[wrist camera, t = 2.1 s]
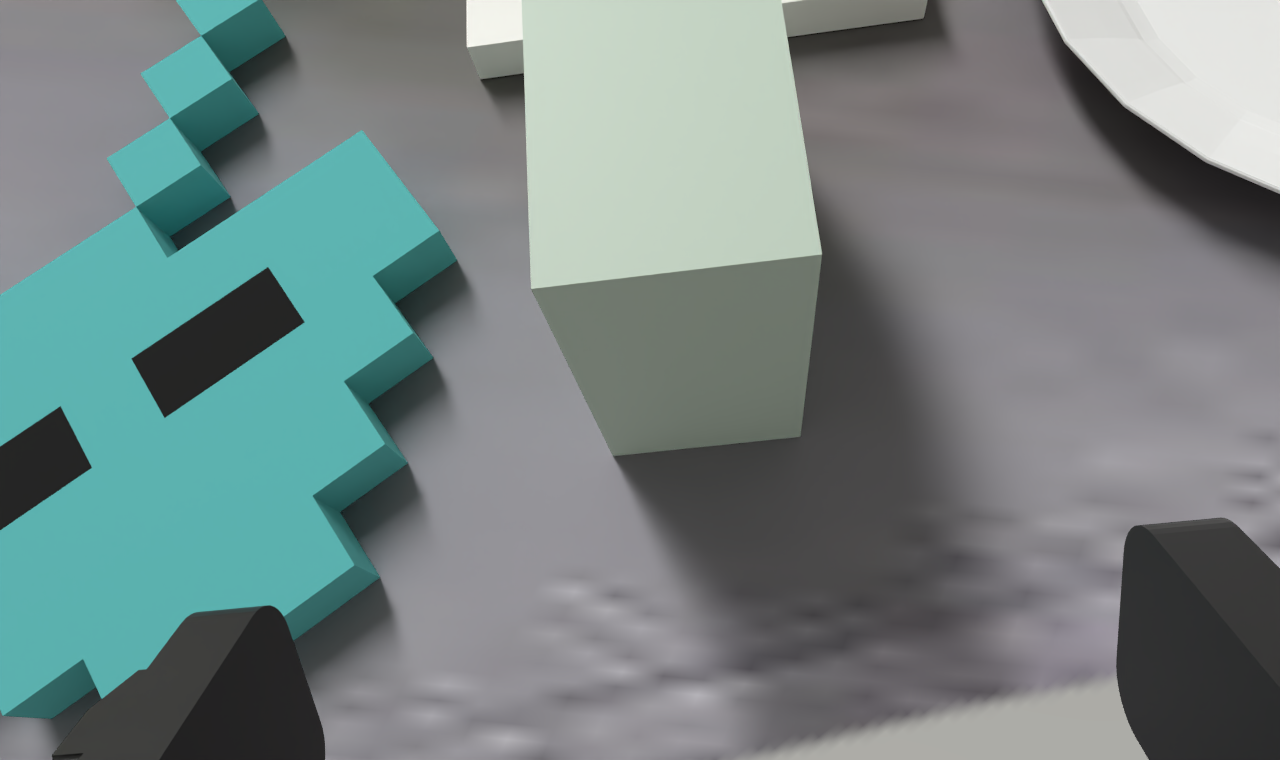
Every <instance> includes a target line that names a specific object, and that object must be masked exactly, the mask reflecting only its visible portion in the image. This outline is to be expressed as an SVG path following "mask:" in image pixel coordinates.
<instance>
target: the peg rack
mask: <svg viewBox="0 0 1280 760" xmlns="http://www.w3.org/2000/svg"><path fill="white" fill-rule="evenodd" d="M927 1H928V0H781V2H782V8H783V14H784V20H785V27H786V33H787V37H792V36H799V35H807V34H814V33H821V32H828V31H836V30H843V29H850V28H858V27H865V26H872V25H879V24H887V23H894V22H901V21H909V20H916V19H923V18H924V15H925V10H926V5H927ZM467 49H468V51H469V54H470V56H471V59H472V61H473V63H474V66H475V68H476V71H477V73H478V76H479V78H480V79H486V78H493V77H501V76H508V75H515V74H522V73H524V57H523V26H522V0H467Z"/></svg>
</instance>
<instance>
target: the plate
mask: <svg viewBox="0 0 1280 760" xmlns="http://www.w3.org/2000/svg"><path fill="white" fill-rule="evenodd" d="M1042 2H1043V4H1044V6H1045V8H1046V9H1047V11H1048V13H1049V15H1050V17H1051V19H1052V21H1053V22H1054V24H1055V26H1056V28H1057V30H1058V32H1059V34H1060V35H1061V37H1062V39H1063V41H1064V43H1065V44H1066V45H1067V46H1068V47H1069V48H1070V49H1071V51H1072V52H1073V53H1074V54H1075V55H1076V56H1077V57H1078V58H1079V59H1080V60H1081V61H1082V62H1083V63H1084V65H1085V66H1086V67H1087V68H1088V69H1089V70H1090V71H1091V72H1092V73H1093V74H1094V75H1095V76H1096V77H1097V79H1098V80H1099V81H1100V82H1101V83H1102V84H1103V85H1104V86H1105V87H1106V88H1107V89H1108V90H1109V91H1110V93H1111V94H1112V95H1113V96H1114V97H1115V98H1116V99H1117V100H1118V101H1119V102H1120V103H1121V104H1122V105H1123V107H1125V108H1126V109H1128V110H1129V111H1131V112H1132V113H1133V114H1135V115H1136V116H1138V117H1139V118H1141V119H1142V120H1144V121H1145V122H1147V123H1148V124H1150V125H1151V126H1153V127H1154V128H1156V129H1157V130H1159V131H1160V132H1161V133H1163V134H1164V135H1166V136H1167V137H1169V138H1170V139H1172V140H1173V141H1175V142H1176V143H1178V144H1179V145H1181V146H1182V147H1184V148H1185V149H1187V150H1188V151H1189V152H1191V153H1192V154H1194V155H1195V156H1197V157H1198V158H1200V159H1201V160H1203V161H1204V162H1206V163H1208V164H1210V165H1213V166H1215V167H1217V168H1220V169H1222V170H1225V171H1227V172H1229V173H1232V174H1234V175H1236V176H1239V177H1241V178H1243V179H1246V180H1248V181H1250V182H1253V183H1255V184H1257V185H1260V186H1262V187H1264V188H1267V189H1269V190H1271V191H1274V192H1276V193H1278V194H1280V0H1042Z"/></svg>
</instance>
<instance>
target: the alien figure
mask: <svg viewBox="0 0 1280 760" xmlns="http://www.w3.org/2000/svg"><path fill="white" fill-rule="evenodd" d="M176 1H177V2H178V4H179V5H180V7H181V8H182V9H183V11H184V12H185V14H186V15H187V16H188V18H189V19H190V21H191V22H192V23H193V25H194V26H195V28H196V29H197V30H198V32H199V33H200V35H201V36H200V37H198V38H197V39H195V40H193V41H192V42H190V43H189V44H187V45H185V46H184V47H182V48H181V49H179V50H178V51H176V52H174V53H173V54H171V55H170V56H168V57H166V58H165V59H163V60H162V61H160V62H158V63H157V64H155V65H154V66H152V67H150V68H149V69H147V70H146V71H144V72H142V73H141V75H142V77H143V78H144V80H145V81H146V83H147V84H148V86H149V87H150V89H151V90H152V92H153V93H154V95H155V96H156V98H157V99H158V101H159V102H160V104H161V105H162V107H163V108H164V110H165V111H166V113H167V115H168V116H169V119H168V120H166V121H165V122H163V123H161V124H160V125H158V126H157V127H155V128H154V129H152V130H150V131H149V132H147V133H146V134H144V135H143V136H141V137H139V138H138V139H136V140H135V141H133V142H132V143H130V144H128V145H127V146H125V147H124V148H122V149H121V150H119V151H117V152H116V153H114V154H113V155H111V156H110V157H108V158H107V160H108V161H109V163H110V165H111V166H112V168H113V170H114V171H115V173H116V175H117V176H118V178H119V179H120V181H121V183H122V184H123V186H124V188H125V189H126V191H127V193H128V194H129V196H130V197H131V199H132V201H133V202H134V204H135V206H136V207H135V208H134V209H132V210H131V211H129V212H127V213H126V214H124V215H123V216H121V217H120V218H118V219H117V220H115V221H114V222H112V223H110V224H109V225H107V226H106V227H104V228H103V229H101V230H100V231H98V232H97V233H95V234H93V235H92V236H90V237H89V238H87V239H86V240H84V241H83V242H81V243H80V244H78V245H76V246H75V247H73V248H72V249H70V250H69V251H67V252H66V253H64V254H63V255H61V256H59V257H58V258H56V259H55V260H53V261H52V262H50V263H49V264H47V265H46V266H44V267H42V268H41V269H39V270H38V271H36V272H35V273H33V274H32V275H30V276H29V277H27V278H25V279H24V280H22V281H21V282H19V283H18V284H16V285H15V286H13V287H12V288H10V289H8V290H7V291H5V292H4V293H2V294H1V295H0V710H1V713H2V715H3V716H13V717H30V718H48V719H52V718H54V717H55V716H56V715H58V714H59V713H61V712H62V711H63V710H65V709H66V708H68V707H69V706H70V705H72V704H73V703H75V702H76V701H77V700H79V699H80V698H82V697H83V696H84V695H86V694H87V693H89V692H90V691H91V690H93V689H94V688H95V687H96V688H97V690H98V692H99V694H100V696H101V699H102V698H104V697H105V696H106V695H108V694H109V693H110V692H111V691H113V690H114V689H115V688H116V687H118V686H119V685H120V684H121V683H123V682H124V681H125V680H127V679H128V678H129V677H130V676H132V675H133V674H134V673H135V672H137V671H138V670H143V669H147V668H148V667H149V665H150V664H151V663H152V661H153V660H154V659H155V657H156V656H157V655H158V653H159V652H160V651H161V649H162V648H163V647H164V645H165V644H166V643H167V641H168V640H169V639H170V637H171V636H172V635H173V633H174V632H175V631H176V629H177V628H178V627H179V625H180V624H181V623H182V622H183V621H184V619H185V618H186V617H188V616H189V615H191V614H193V613H195V612H203V611H214V610H224V609H235V608H245V607H256V606H267V605H271V606H274V607H275V608H277V609H278V610H279V611H280V612H281V613H282V615H283V616H284V618H285V620H286V622H287V625H288V627H289V630H290V633H291V636H292V639H293V641H294V640H295V639H297V638H298V637H300V636H301V635H302V634H304V633H305V632H306V631H308V630H309V629H310V628H312V627H313V626H315V625H316V624H317V623H319V622H320V621H321V620H323V619H324V618H325V617H327V616H328V615H330V614H331V613H332V612H334V611H335V610H336V609H338V608H339V607H341V606H342V605H343V604H345V603H346V602H347V601H349V600H350V599H351V598H353V597H354V596H356V595H357V594H358V593H360V592H361V591H362V590H364V589H365V588H366V587H368V586H369V585H371V584H372V583H373V582H375V581H376V580H377V579H379V578H380V576H379V575H378V573H377V571H376V570H375V568H374V566H373V565H372V563H371V562H370V560H369V558H368V557H367V555H366V554H365V552H364V550H363V549H362V547H361V545H360V544H359V542H358V541H357V539H356V537H355V536H354V534H353V532H352V531H351V529H350V528H349V526H348V524H347V523H346V521H345V520H344V518H343V516H342V515H341V513H340V512H341V511H342V510H343V509H345V508H346V507H348V506H349V505H350V504H352V503H353V502H355V501H356V500H357V499H359V498H360V497H361V496H363V495H364V494H366V493H367V492H368V491H370V490H371V489H373V488H374V487H375V486H377V485H378V484H380V483H381V482H382V481H384V480H385V479H387V478H388V477H389V476H391V475H392V474H394V473H395V472H396V471H398V470H399V469H400V468H402V467H403V466H405V465H406V464H407V463H408V462H407V461H406V459H405V458H404V456H403V455H402V453H401V452H400V450H399V449H398V447H397V446H396V444H395V443H394V441H393V440H392V438H391V437H390V435H389V434H388V432H387V431H386V429H385V428H384V426H383V425H382V423H381V422H380V420H379V419H378V417H377V416H376V414H375V413H374V411H373V410H372V408H371V407H370V405H369V403H370V402H371V401H373V400H374V399H376V398H377V397H379V396H380V395H381V394H383V393H384V392H386V391H387V390H389V389H390V388H391V387H393V386H394V385H396V384H397V383H398V382H400V381H401V380H403V379H404V378H406V377H407V376H408V375H410V374H411V373H413V372H414V371H416V370H417V369H418V368H420V367H421V366H423V365H424V364H425V363H427V362H428V361H430V360H431V359H433V356H432V355H431V354H430V352H429V351H428V349H427V348H426V347H425V345H424V344H423V342H422V341H421V340H420V338H419V337H418V335H417V334H416V333H415V331H414V330H413V328H412V327H411V326H410V324H409V323H408V321H407V320H406V319H405V317H404V316H403V314H402V313H401V312H400V310H399V309H398V307H397V306H396V305H395V303H396V302H398V301H399V300H401V299H402V298H404V297H405V296H406V295H408V294H409V293H411V292H412V291H414V290H415V289H417V288H418V287H419V286H421V285H422V284H424V283H425V282H427V281H428V280H430V279H431V278H432V277H434V276H435V275H437V274H438V273H440V272H441V271H443V270H444V269H446V268H447V267H448V266H450V265H451V264H453V263H454V262H456V261H457V259H456V258H455V256H454V254H453V253H452V251H451V249H450V248H449V246H448V244H447V243H446V241H445V240H444V238H443V236H442V235H441V233H440V231H439V230H438V229H437V227H436V226H435V225H434V223H433V222H432V221H431V219H430V218H429V217H428V215H427V214H426V213H425V212H424V210H423V209H422V208H421V206H420V205H419V204H418V202H417V201H416V200H415V199H414V197H413V196H412V195H411V193H410V192H409V191H408V189H407V188H406V187H405V186H404V184H403V183H402V182H401V180H400V179H399V178H398V176H397V175H396V174H395V173H394V171H393V170H392V169H391V167H390V166H389V165H388V163H387V162H386V161H385V159H384V158H383V157H382V156H381V154H380V153H379V152H378V150H377V149H376V148H375V146H374V145H373V144H372V143H371V141H370V140H369V139H368V137H367V136H366V135H365V133H364V132H363V131H362V130H361V131H360V132H358V133H357V134H355V135H354V136H352V137H351V138H349V139H348V140H346V141H344V142H343V143H341V144H340V145H338V146H337V147H335V148H334V149H332V150H331V151H329V152H328V153H326V154H325V155H323V156H322V157H320V158H319V159H317V160H316V161H314V162H313V163H311V164H310V165H308V166H307V167H305V168H303V169H302V170H300V171H299V172H297V173H296V174H294V175H293V176H291V177H290V178H288V179H287V180H285V181H284V182H282V183H281V184H279V185H278V186H276V187H275V188H273V189H272V190H270V191H269V192H267V193H265V194H264V195H262V196H261V197H259V198H258V199H256V200H255V201H253V202H252V203H250V204H249V205H247V206H246V207H244V208H243V209H241V210H240V211H238V212H237V213H235V214H234V215H232V216H231V217H229V218H228V219H226V220H224V221H223V222H221V223H220V224H218V225H217V226H215V227H214V228H212V229H211V230H209V231H208V232H206V233H205V234H203V235H202V236H200V237H199V238H197V239H196V240H194V241H193V242H191V243H190V244H188V245H186V246H185V247H183V248H182V249H180V250H179V251H178V249H177V247H176V246H175V244H174V243H173V241H172V239H171V238H170V236H172V235H173V234H175V233H176V232H178V231H179V230H181V229H182V228H184V227H185V226H187V225H189V224H190V223H192V222H193V221H195V220H196V219H198V218H199V217H201V216H202V215H204V214H205V213H207V212H208V211H210V210H211V209H213V208H214V207H216V206H217V205H219V204H221V203H222V202H224V201H225V200H227V199H228V198H230V197H231V196H230V195H229V193H228V192H227V190H226V189H225V187H224V186H223V184H222V183H221V181H220V180H219V178H218V177H217V175H216V174H215V172H214V171H213V169H212V168H211V166H210V165H209V163H208V162H207V160H206V159H205V157H204V156H203V154H202V153H201V151H202V150H204V149H206V148H207V147H209V146H210V145H212V144H213V143H215V142H216V141H218V140H219V139H221V138H223V137H224V136H226V135H227V134H229V133H230V132H232V131H233V130H235V129H236V128H238V127H240V126H241V125H243V124H244V123H246V122H247V121H249V120H250V119H252V118H253V117H255V116H257V115H258V114H259V113H258V112H257V110H256V109H255V107H254V106H253V105H252V103H251V102H250V100H249V99H248V98H247V96H246V95H245V93H244V92H243V91H242V89H241V88H240V86H239V85H238V84H237V82H236V81H235V79H234V78H233V77H232V75H231V74H230V72H231V71H232V70H234V69H235V68H237V67H238V66H240V65H242V64H243V63H245V62H246V61H248V60H249V59H251V58H253V57H254V56H256V55H257V54H259V53H260V52H262V51H264V50H265V49H267V48H268V47H270V46H271V45H273V44H274V43H276V42H278V41H279V40H281V39H282V38H284V37H285V35H284V33H283V32H282V30H281V28H280V27H279V25H278V24H277V22H276V21H275V19H274V18H273V16H272V15H271V13H270V12H269V10H268V9H267V7H266V6H265V4H264V2H263V1H262V0H176Z"/></svg>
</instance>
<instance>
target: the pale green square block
mask: <svg viewBox="0 0 1280 760" xmlns="http://www.w3.org/2000/svg"><path fill="white" fill-rule="evenodd" d="M522 26H523V57H524V87H525V117H526V148H527V178H528V209H529V239H530V269H531V290H532V292H533V294H534V296H535V298H536V300H537V302H538V304H539V306H540V308H541V310H542V312H543V314H544V316H545V318H546V320H547V322H548V324H549V326H550V329H551V331H552V333H553V335H554V337H555V339H556V341H557V343H558V345H559V347H560V349H561V351H562V353H563V355H564V357H565V359H566V361H567V363H568V365H569V367H570V369H571V371H572V373H573V375H574V378H575V380H576V382H577V384H578V386H579V388H580V390H581V392H582V394H583V396H584V398H585V400H586V402H587V404H588V406H589V408H590V410H591V412H592V414H593V416H594V418H595V420H596V422H597V425H598V427H599V429H600V431H601V433H602V435H603V437H604V439H605V441H606V443H607V445H608V447H609V449H610V451H611V453H612V455H613V456H620V455H629V454H639V453H649V452H658V451H668V450H678V449H687V448H697V447H707V446H716V445H726V444H735V443H745V442H755V441H764V440H774V439H784V438H793V437H800V436H801V428H802V419H803V411H804V403H805V394H806V386H807V377H808V369H809V360H810V352H811V344H812V335H813V327H814V318H815V310H816V301H817V293H818V285H819V276H820V268H821V259H822V251H821V244H820V238H819V232H818V226H817V220H816V213H815V207H814V201H813V195H812V188H811V182H810V176H809V170H808V164H807V157H806V151H805V145H804V139H803V132H802V126H801V120H800V114H799V108H798V101H797V95H796V89H795V83H794V76H793V70H792V64H791V58H790V52H789V45H788V39H787V33H786V27H785V20H784V14H783V8H782V2H781V0H522Z"/></svg>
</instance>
